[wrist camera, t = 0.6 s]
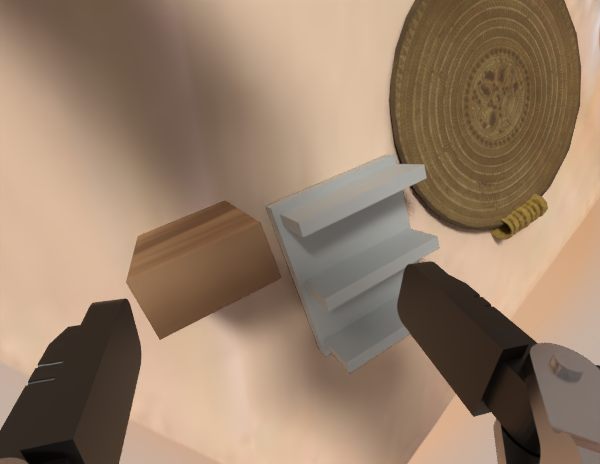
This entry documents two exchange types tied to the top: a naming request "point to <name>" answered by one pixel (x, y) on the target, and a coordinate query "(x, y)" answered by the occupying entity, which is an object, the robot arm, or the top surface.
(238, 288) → the brown rectangular block
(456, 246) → the top surface
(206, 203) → the top surface
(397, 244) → the rack
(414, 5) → the decorative disc
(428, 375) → the top surface
